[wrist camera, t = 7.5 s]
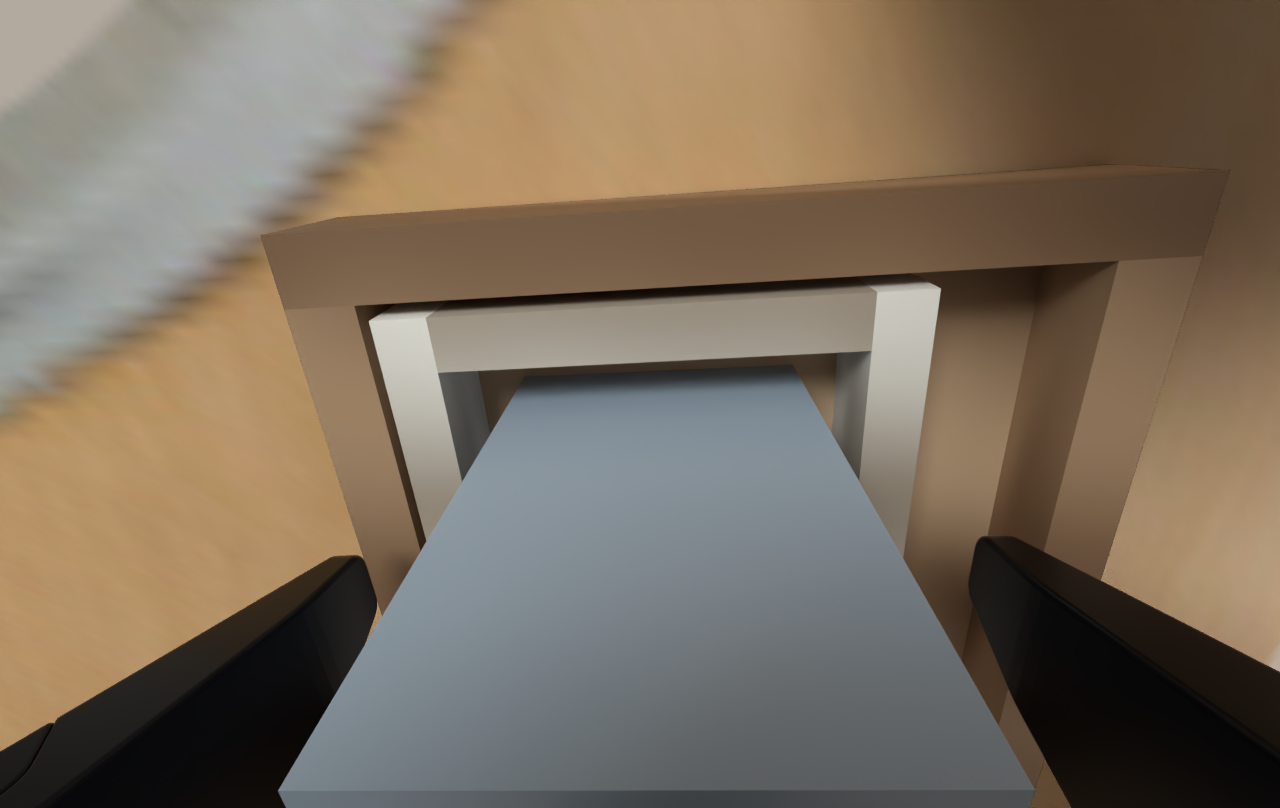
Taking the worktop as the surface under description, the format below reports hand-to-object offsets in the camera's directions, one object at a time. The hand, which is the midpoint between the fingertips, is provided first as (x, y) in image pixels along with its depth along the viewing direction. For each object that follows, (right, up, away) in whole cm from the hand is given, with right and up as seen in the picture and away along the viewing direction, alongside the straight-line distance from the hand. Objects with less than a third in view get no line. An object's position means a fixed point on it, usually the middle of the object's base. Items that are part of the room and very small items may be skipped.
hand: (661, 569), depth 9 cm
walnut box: (+1, 0, +3) cm, 3 cm away
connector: (0, +1, +2) cm, 2 cm away
